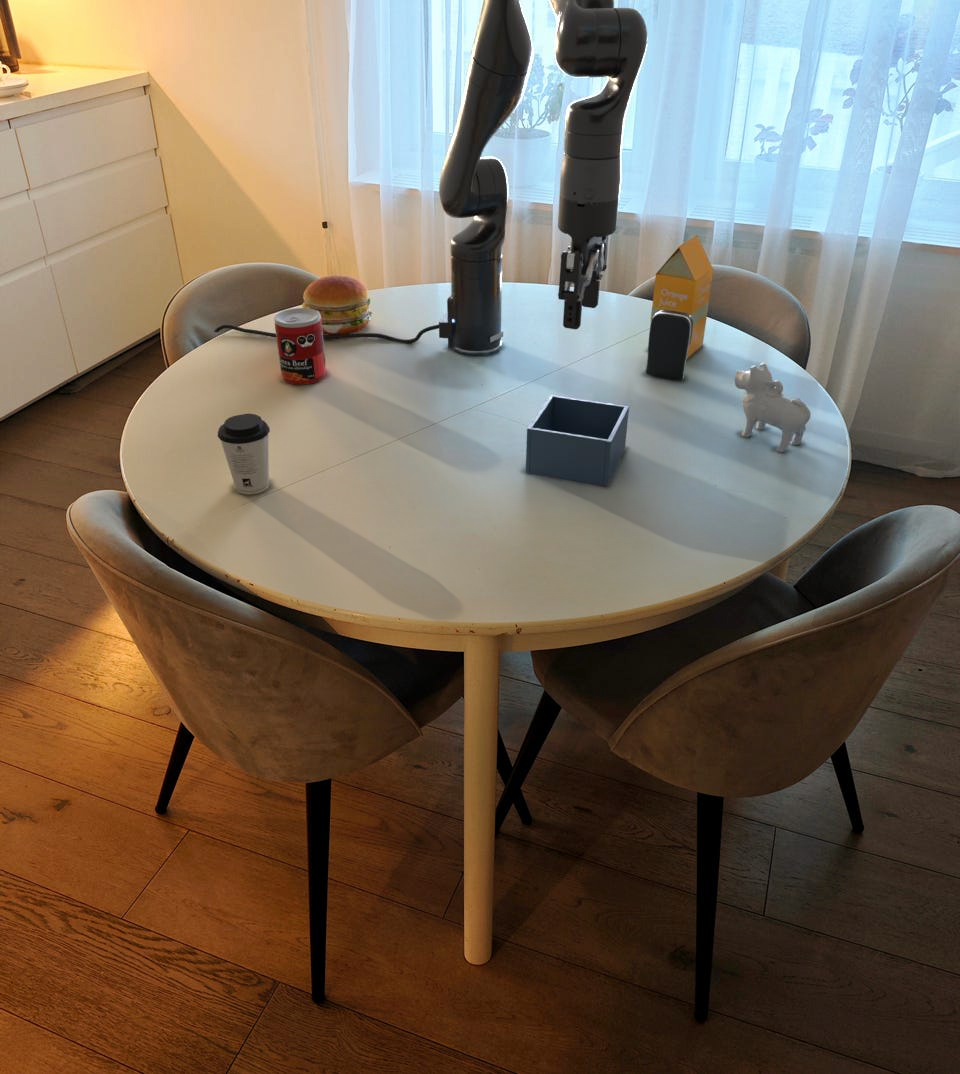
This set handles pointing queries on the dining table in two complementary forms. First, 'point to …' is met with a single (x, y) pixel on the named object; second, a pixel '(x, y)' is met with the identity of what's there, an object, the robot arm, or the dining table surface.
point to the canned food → (300, 345)
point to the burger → (339, 304)
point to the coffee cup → (246, 452)
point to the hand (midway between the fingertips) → (580, 317)
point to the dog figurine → (771, 406)
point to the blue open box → (577, 439)
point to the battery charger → (669, 344)
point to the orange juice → (686, 287)
